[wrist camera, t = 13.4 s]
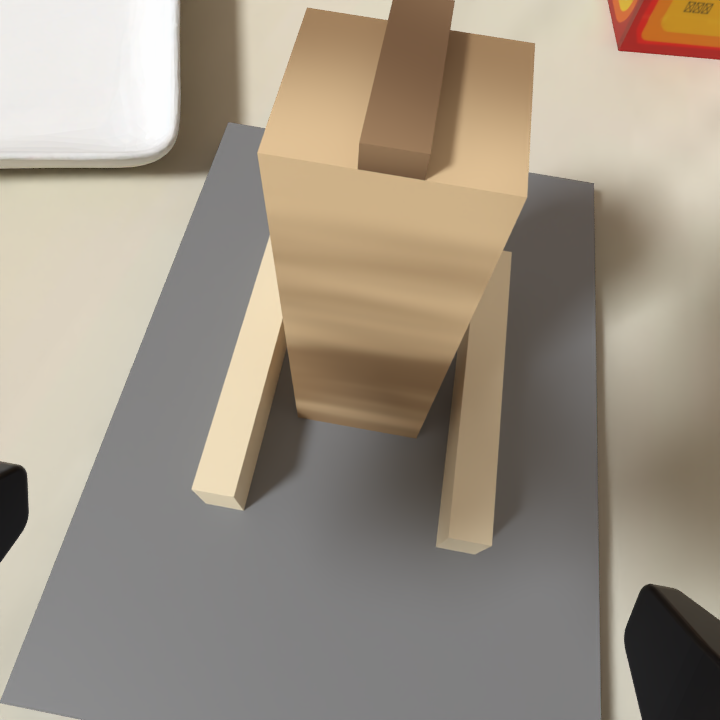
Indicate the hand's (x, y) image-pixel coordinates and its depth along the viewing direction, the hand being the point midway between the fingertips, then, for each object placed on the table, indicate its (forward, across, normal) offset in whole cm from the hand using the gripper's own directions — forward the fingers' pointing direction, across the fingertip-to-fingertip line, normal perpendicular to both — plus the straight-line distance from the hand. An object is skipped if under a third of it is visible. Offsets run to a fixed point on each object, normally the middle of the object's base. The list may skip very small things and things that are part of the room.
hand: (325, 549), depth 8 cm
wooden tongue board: (+11, 0, +2) cm, 11 cm away
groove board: (+12, 0, +2) cm, 12 cm away
